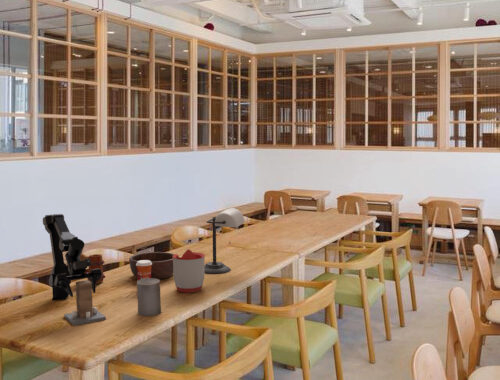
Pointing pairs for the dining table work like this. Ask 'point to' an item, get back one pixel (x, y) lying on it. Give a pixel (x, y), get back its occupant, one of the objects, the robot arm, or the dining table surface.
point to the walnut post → (84, 298)
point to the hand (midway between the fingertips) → (83, 294)
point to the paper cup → (144, 269)
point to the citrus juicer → (189, 271)
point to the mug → (94, 264)
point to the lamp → (223, 219)
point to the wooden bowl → (154, 264)
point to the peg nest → (76, 320)
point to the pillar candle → (148, 296)
